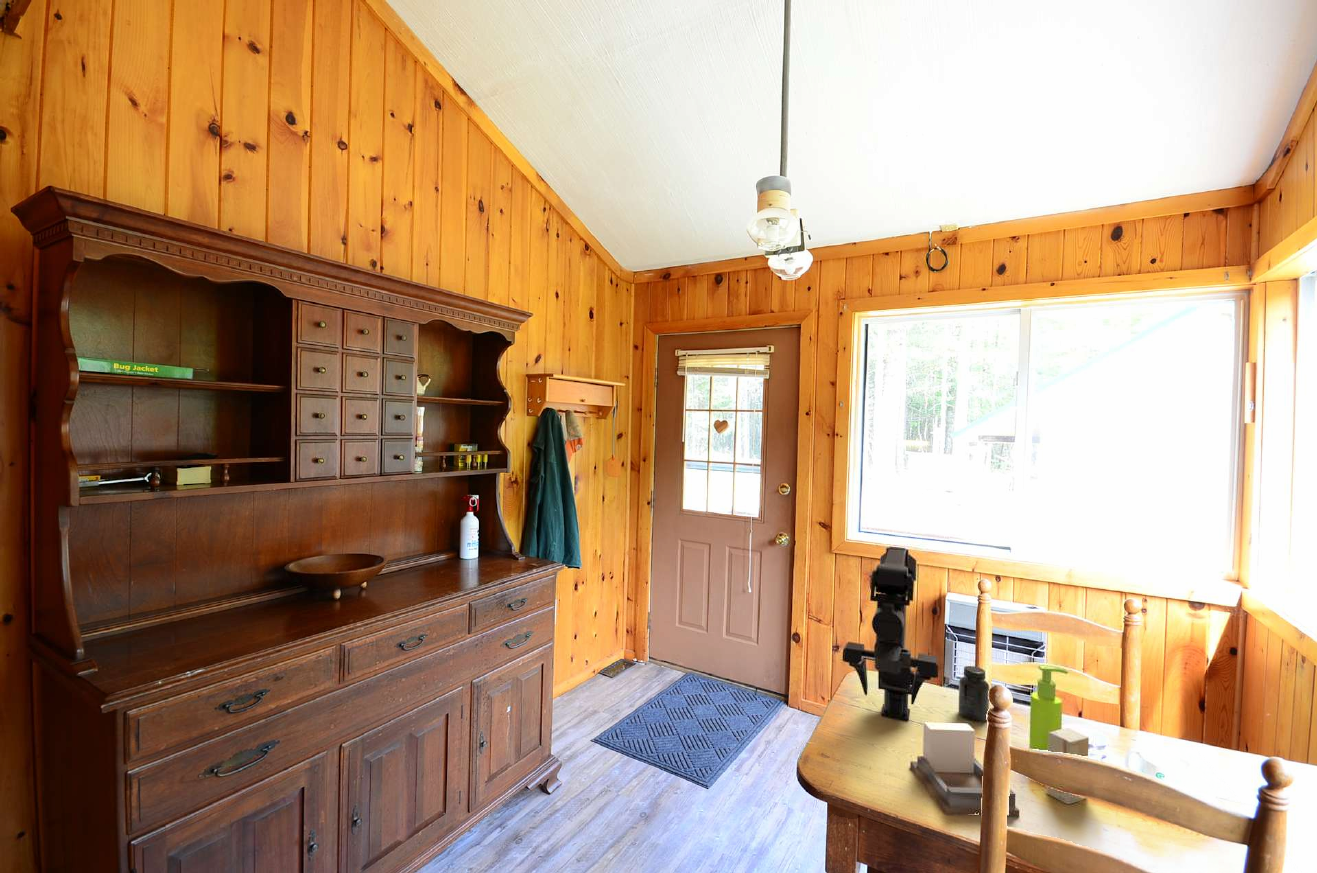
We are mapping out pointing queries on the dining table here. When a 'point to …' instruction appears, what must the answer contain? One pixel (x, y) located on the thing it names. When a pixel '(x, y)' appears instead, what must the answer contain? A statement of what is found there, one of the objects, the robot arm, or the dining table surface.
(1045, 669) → the soap dispenser
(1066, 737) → the skincare box
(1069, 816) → the dining table surface
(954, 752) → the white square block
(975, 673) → the supplement bottle
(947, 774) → the press base
